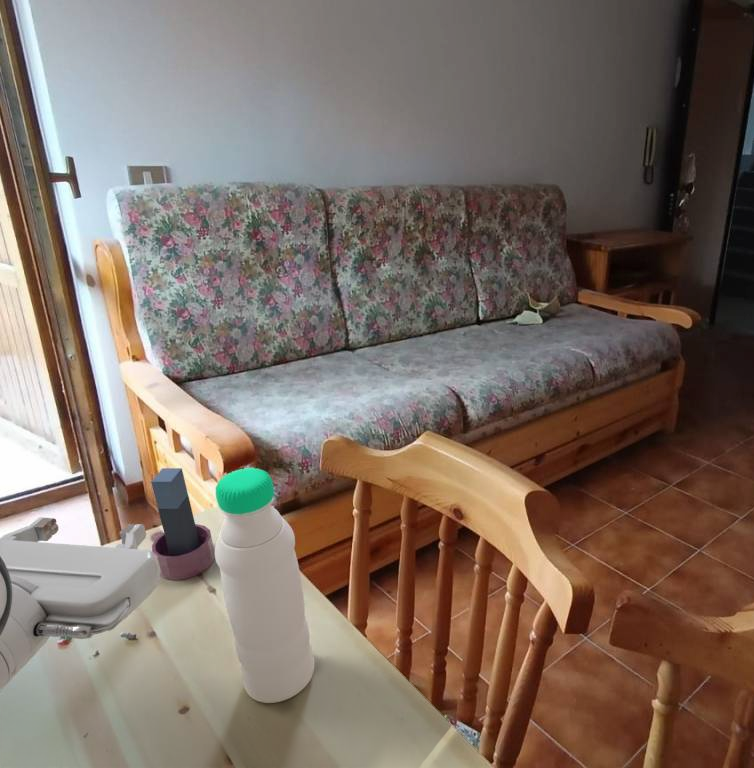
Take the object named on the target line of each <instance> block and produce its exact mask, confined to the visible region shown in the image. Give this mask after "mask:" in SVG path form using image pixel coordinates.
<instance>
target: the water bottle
mask: <svg viewBox="0 0 754 768" xmlns="http://www.w3.org/2000/svg"><path fill="white" fill-rule="evenodd" d="M274 496H275V488H274V482H273V479H272V477H271V475H270V474H269V473H268V472H267V471H266V470H264V469H261V468H256V467H255V468H254V467H247V468H240V469H236V470H234V471H231V472H229V473H227V474H225V475H224V476H223V477H221V479H220V480H219V481H218V482H217V484H216V486H215V499H216V502H217V505H218V507H219V509H220V512H221V513H222V514H223V515H225V517H224V519H223V521H222V522H221V523H222V524H221V526H220V532H219V533H218V536H217V539H216V542H215V545H214V550H215V559H214V560H215V562H216V564H217V566H218V568H219V570H220V571H219V572H220V573H219V574H220V580H221V587H222V593H223V597H224V602H225V607H226V611H227V616H228V619H229V622H230V626H231V629H232V632H233V635H234V637H235V638H234V643H235V652H236V656H237V659H238V661H239V663H240V671H241V678H242V683H243V687H244V689H245V692H246V694H248V696H249V697H250V698H252V699H253V700H254V701H257V702H260V703H264V704H274V703H280V702H283V701H287V700H289V699H291V698H292V697H294V696H296V695H297V694H299V693H300V692H301V691H303V690H304V688H306V687H307V685H308V684H309V682H310V681H311V679H312V677H313V674H314V672H315V671H314V670H315V658H314V653H313V649H312V645H311V643H310V629H309V624H308V620H307V618H306V614H305V612H306V609H305V598H304V590H303V589H304V588H303V583H302V577H301V576H302V575H301V570H300V565H299V561H298V558H297V554H296V553H297V552H296V551H295V546H296V538H295V537H296V536H295V533H294V530H293V529H292V527H291V525H290V524H289V522H288V521H287V520H286V519H284V517H283V516H282V515H281V514H280V512H279V511H278V510H277V509H276V508H275V507H274V506H273V502H274V500H275V499H274Z"/></svg>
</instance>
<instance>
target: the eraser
mask: <svg viewBox="0 0 754 768" xmlns="http://www.w3.org/2000/svg"><path fill="white" fill-rule="evenodd" d="M184 475H185V474H184V472H183V468H181V467H175V468H173V467H169V468H167V467H166V468H165V467H162V468H161V469H160V471H158V473H157V474H156V475H155V476H154V478H153V479H152V480H151V481H150V484H151V488H152V491H153V495H154V500H155V503H156V507H157V512H158V514H159V519H160V523H161V526H162V529H163V533H164V534H165V538H166V541H167V545H168V549H169V553H170V556H180V555H184V554H187V553H190V552H192V551H194V550H196V549H198V548H199V547H200V542H199V538H198V534H197V530H196V526H195V524H196V521H195V517H194V513H193V510H192V504H191V500H190V496H189V493H188V488H187V485H186V480H185V476H184Z"/></svg>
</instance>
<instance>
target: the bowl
mask: <svg viewBox="0 0 754 768" xmlns="http://www.w3.org/2000/svg"><path fill="white" fill-rule="evenodd" d="M195 526H196V530H197V534H198V538H199V542H200V547H199V548H198V549H196V550H194V551H192V552H190V553H187V554H184V555H180V556H170V553H169V549H168V545H167V541H166V538H165V534H164V532H163V533H161V534H160V535H159V536H158V537H155V540H154V541H153V542H152V545H151V552H152V553H153V554H154V557H155V559H156V562H157V565H158V568H159V573H160V577H161V578H163V579H166V580H170V581H180V580H185V579H190V578H193V577H195V576H198V575H200V574H202V573H203V572H205V571H206V570H207V569H209V568H210V566H212V565H213V563H214V562H215V560H216V559H215V545H214V541H213V537H212V532H211V530H210V528H208V527H207V526H205V525H202V524H198V523H195Z"/></svg>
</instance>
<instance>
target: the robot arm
mask: <svg viewBox="0 0 754 768" xmlns="http://www.w3.org/2000/svg"><path fill="white" fill-rule="evenodd" d="M57 522H58V521H57V519H56V518H53V517H43V516H41V517H37V519H35V520H34V521H33V522H32V523H31V524H30V525H27V526H24V527H21V528H19V529H16V530H14V531H11V532H8V533H6V534H3V536H1V537H0V693H1V692H2V691H3V690H4V689H5V688H6V687H7V685H8V684H9V683H10V682H11V681H12V680H13V679H14V678H15V677H16V676H17V675H18V674H19V672H21V670H22V669H23V668H24V667H25V666H26V665H27V664H28V663H29V662H30V661H31V660H32V658H34V656H35V655H36V654H37V653H38V652H39V651H40V650H41V649H42V648H43V647H44V646H45V644H46V643H47V642H48V641H49V638H51V637H52V638H62V637H64V638H65V637H66V638H67V637H69V638H73V639H77V640H85V639H91V638H92V637H93V636H94V635H99V634H102V633H105V632H110V631H113V630H114V629H115V628H116V627H118V625H120V623H122V622H123V621H124V620H125V619H127V618H128V617H129V616H130V615H131V614H132V613H133V612H134V611H135V610H136V609H137V608H139V606H141V605H142V604H143V602H145V601H146V600H147V599H148V597H149V596H151V594H152V593H153V592H154V591H155V590H156V589H157V587H158V586H159V585H160V583H161V575H160V573H159V568H158V565H157V562H156V559H155V557H154V554H153V553H152V550H149V549H140V548H139V546H140V545H141V544H142V543H143V541H144V540H145V539H146V538H147V530H146V528H145V525H144V524H142V523H127V524H126V525H125V527H124V528H122V529H121V530H120V531H119V532H118V534H119V538H120V539H121V543H118V544H117V545H116V546H115V547H113V546H112V547H111V546H97V545H83V544H81V545H80V544H69V543H56V542H55V543H54V542H48V541H49V540H51V538H52V537H53V536H54V535H57V533H58V531H59V525H58V523H57Z"/></svg>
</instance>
